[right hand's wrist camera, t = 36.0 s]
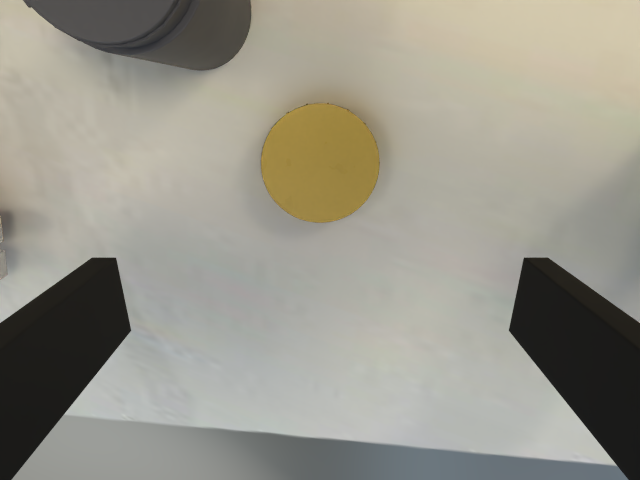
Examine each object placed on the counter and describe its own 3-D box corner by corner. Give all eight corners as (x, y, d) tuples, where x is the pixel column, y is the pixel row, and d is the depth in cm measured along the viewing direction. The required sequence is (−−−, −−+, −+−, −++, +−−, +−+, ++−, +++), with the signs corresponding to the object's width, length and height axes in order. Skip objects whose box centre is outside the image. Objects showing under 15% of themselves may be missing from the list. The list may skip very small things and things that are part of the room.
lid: (246, 186, 38) (241, 191, 36) (295, 80, 35) (293, 79, 32) (342, 233, 40) (343, 241, 38) (397, 137, 36) (402, 139, 34)
